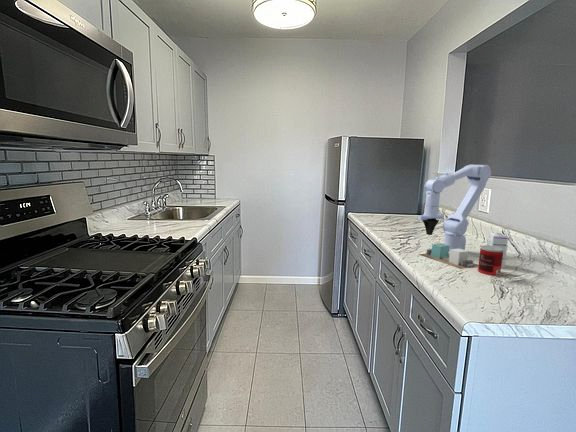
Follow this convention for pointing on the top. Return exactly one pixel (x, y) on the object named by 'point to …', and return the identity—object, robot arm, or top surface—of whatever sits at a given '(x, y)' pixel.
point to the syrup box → (499, 243)
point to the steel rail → (465, 263)
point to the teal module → (439, 250)
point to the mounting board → (446, 261)
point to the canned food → (490, 260)
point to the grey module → (458, 256)
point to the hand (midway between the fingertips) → (429, 234)
